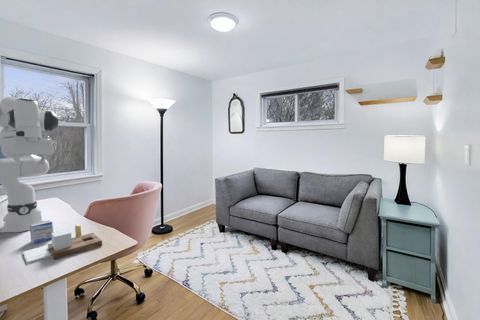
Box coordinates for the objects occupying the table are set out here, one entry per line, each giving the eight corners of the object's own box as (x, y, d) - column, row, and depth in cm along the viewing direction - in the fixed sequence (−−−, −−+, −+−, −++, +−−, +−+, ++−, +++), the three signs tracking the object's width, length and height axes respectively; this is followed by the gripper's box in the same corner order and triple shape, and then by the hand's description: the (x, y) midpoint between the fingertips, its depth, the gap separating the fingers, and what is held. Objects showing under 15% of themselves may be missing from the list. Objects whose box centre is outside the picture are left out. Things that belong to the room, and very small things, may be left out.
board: (48, 249, 108) (47, 235, 107) (93, 237, 121) (92, 225, 121) (54, 259, 99) (53, 244, 99) (102, 245, 112) (101, 232, 112)
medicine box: (33, 244, 113) (31, 226, 112) (30, 241, 116) (29, 224, 115) (53, 238, 120) (52, 221, 119) (50, 236, 122) (49, 219, 121)
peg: (75, 237, 121) (74, 225, 121) (80, 235, 123) (79, 224, 122) (76, 238, 120) (75, 227, 119) (82, 237, 121) (81, 225, 121)
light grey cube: (52, 246, 106) (51, 233, 106) (68, 241, 111) (67, 229, 110) (55, 250, 102) (54, 237, 102) (72, 245, 107) (71, 232, 106)
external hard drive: (46, 248, 110) (52, 258, 102) (22, 255, 104) (26, 265, 96) (46, 245, 110) (52, 254, 102) (22, 251, 104) (26, 261, 96)
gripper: (46, 136, 119) (48, 164, 119) (-4, 133, 99) (-1, 166, 99) (56, 135, 118) (58, 163, 118) (8, 131, 98) (11, 165, 98)
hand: (31, 165), depth 108 cm, fingers open, 8 cm apart
